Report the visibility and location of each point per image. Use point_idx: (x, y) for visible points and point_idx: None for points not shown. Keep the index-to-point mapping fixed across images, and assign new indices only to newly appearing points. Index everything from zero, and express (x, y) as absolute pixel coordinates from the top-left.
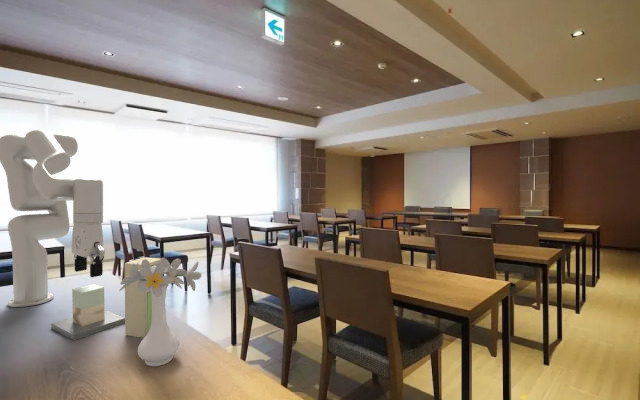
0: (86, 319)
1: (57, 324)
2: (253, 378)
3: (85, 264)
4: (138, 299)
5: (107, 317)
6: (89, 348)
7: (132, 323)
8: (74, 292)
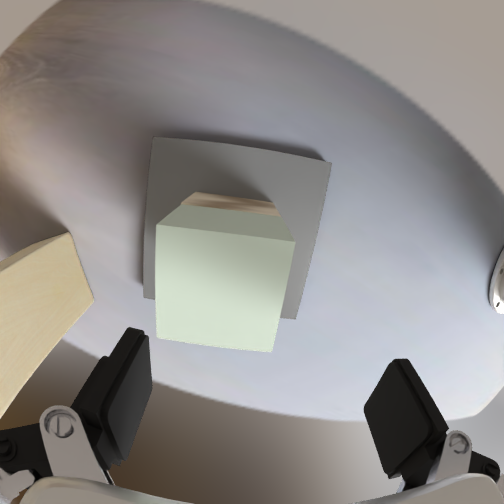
0: None
1: (301, 164)
2: None
3: (376, 432)
4: None
5: None
6: (76, 137)
7: (33, 247)
8: (262, 232)
